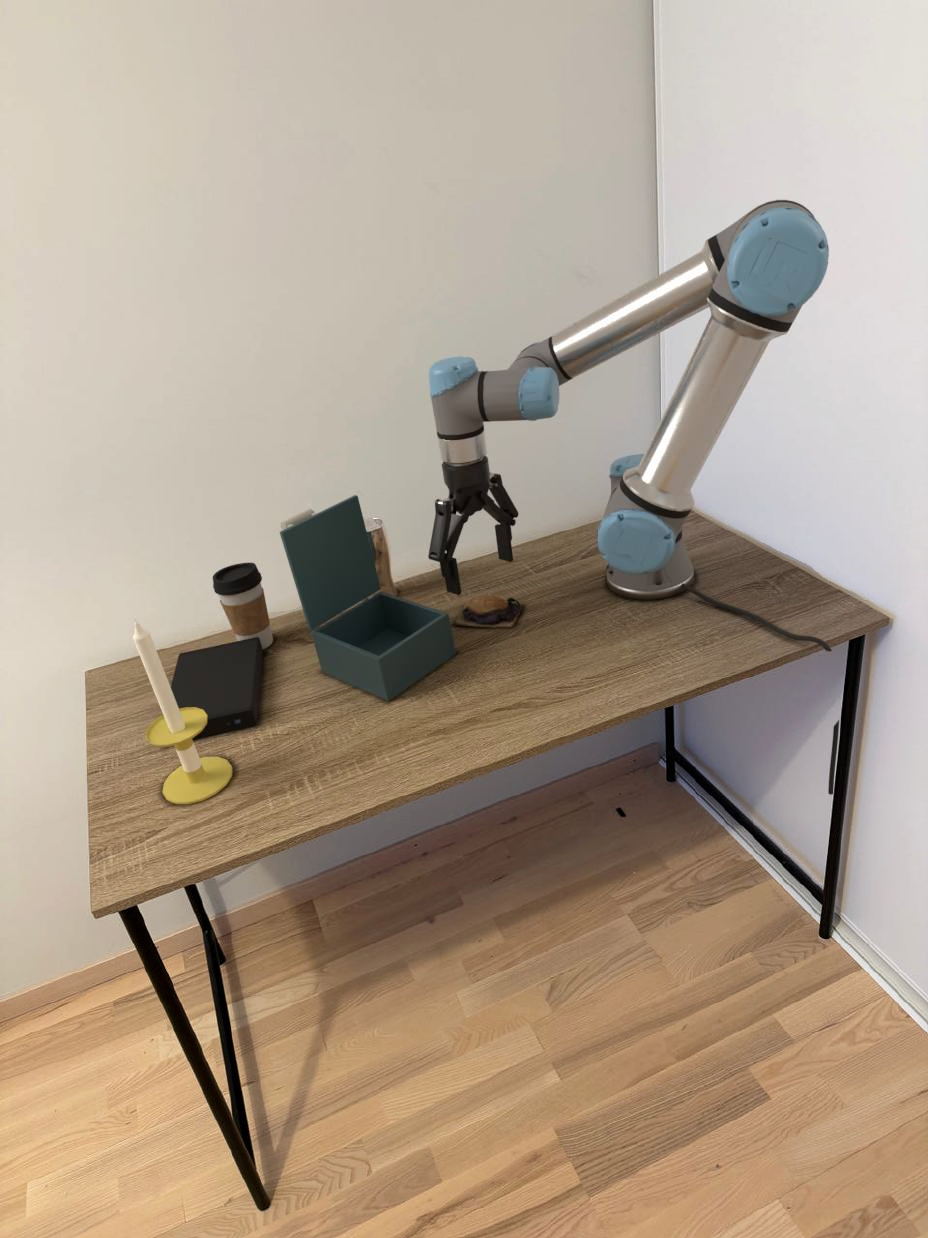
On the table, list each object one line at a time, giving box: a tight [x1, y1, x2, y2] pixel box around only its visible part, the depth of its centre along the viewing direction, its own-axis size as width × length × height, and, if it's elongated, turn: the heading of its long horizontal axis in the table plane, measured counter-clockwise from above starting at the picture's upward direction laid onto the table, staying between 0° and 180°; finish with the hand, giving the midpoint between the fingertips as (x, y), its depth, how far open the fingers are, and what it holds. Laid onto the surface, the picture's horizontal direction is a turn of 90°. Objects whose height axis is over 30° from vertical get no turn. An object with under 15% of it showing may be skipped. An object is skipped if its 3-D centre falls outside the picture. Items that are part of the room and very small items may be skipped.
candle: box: [132, 617, 233, 805], centre depth 114 cm, size 10×10×27 cm
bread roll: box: [455, 593, 523, 629], centre depth 148 cm, size 11×8×4 cm
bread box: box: [310, 591, 457, 702], centre depth 139 cm, size 17×16×8 cm
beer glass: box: [363, 517, 398, 599], centre depth 159 cm, size 7×7×15 cm
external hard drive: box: [170, 637, 264, 741], centre depth 139 cm, size 14×23×3 cm, turn 10°
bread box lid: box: [279, 494, 381, 631], centre depth 140 cm, size 17×16×8 cm
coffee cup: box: [212, 562, 274, 650], centre depth 149 cm, size 8×8×15 cm
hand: (480, 575), depth 145 cm, fingers open, 13 cm apart
